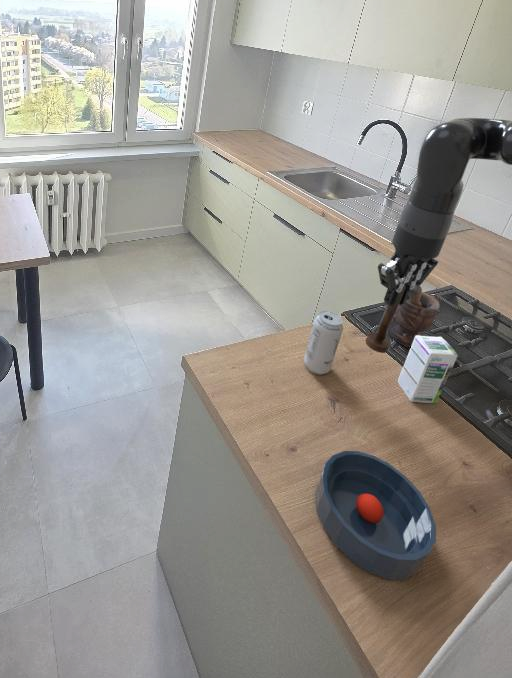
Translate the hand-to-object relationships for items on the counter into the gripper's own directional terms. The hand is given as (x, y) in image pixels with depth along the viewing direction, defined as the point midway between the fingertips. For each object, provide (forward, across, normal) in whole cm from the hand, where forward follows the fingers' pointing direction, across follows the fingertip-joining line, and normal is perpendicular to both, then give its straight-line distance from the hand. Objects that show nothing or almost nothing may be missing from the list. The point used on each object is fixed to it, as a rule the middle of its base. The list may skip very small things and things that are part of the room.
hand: (393, 302), depth 83 cm
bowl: (+26, -19, -20) cm, 38 cm away
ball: (+24, -19, -19) cm, 36 cm away
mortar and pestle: (+27, +26, +10) cm, 38 cm away
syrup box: (+27, +14, -3) cm, 30 cm away
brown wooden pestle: (+11, 0, 0) cm, 11 cm away
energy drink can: (+27, -3, +10) cm, 29 cm away
